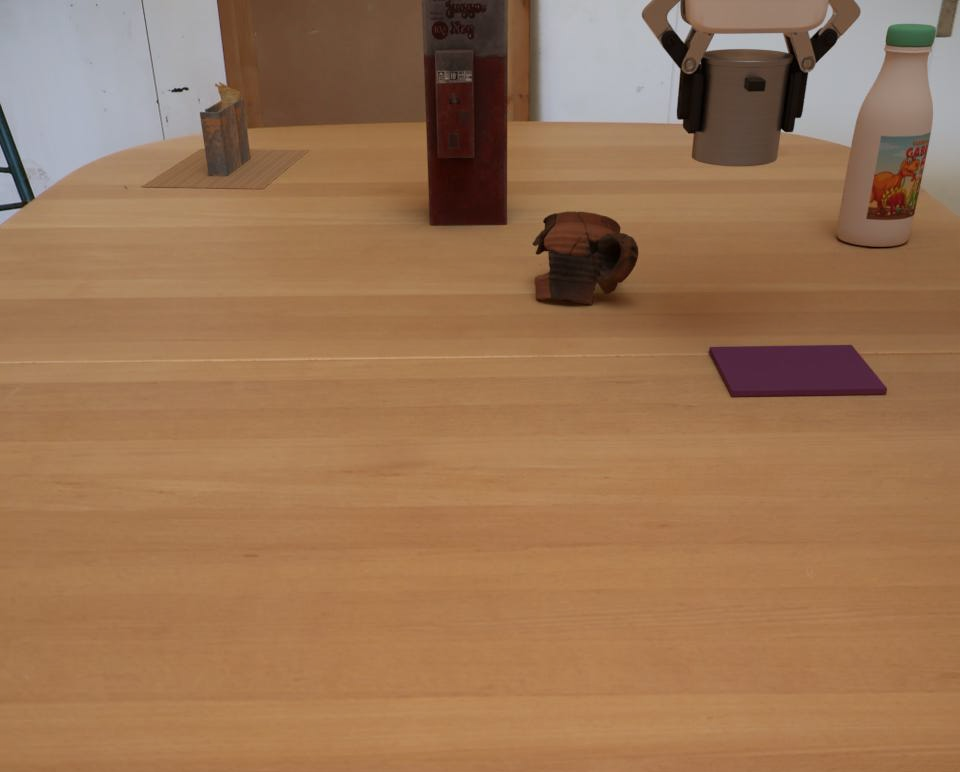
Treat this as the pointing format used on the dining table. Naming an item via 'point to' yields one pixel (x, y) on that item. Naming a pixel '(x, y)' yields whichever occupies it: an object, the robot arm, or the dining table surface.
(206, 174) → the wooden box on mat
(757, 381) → the flat purple board
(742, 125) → the pot
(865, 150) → the milk bottle
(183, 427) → the dining table surface
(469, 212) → the toy vending machine
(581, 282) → the pottery mug
